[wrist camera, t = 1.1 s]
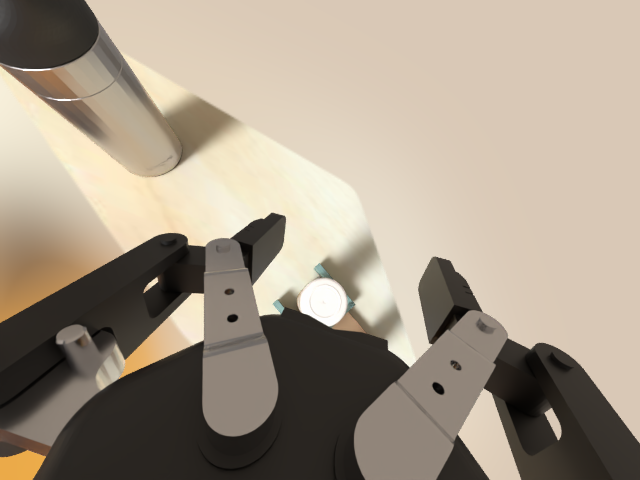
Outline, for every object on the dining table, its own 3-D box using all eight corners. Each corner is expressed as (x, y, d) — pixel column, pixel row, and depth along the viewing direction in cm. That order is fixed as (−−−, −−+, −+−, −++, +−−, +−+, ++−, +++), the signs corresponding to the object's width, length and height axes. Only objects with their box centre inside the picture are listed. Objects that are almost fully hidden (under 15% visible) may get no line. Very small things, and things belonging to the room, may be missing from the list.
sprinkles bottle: (309, 280, 35) (321, 267, 22) (332, 299, 34) (358, 298, 22) (289, 304, 33) (290, 305, 21) (313, 324, 33) (328, 338, 20)
